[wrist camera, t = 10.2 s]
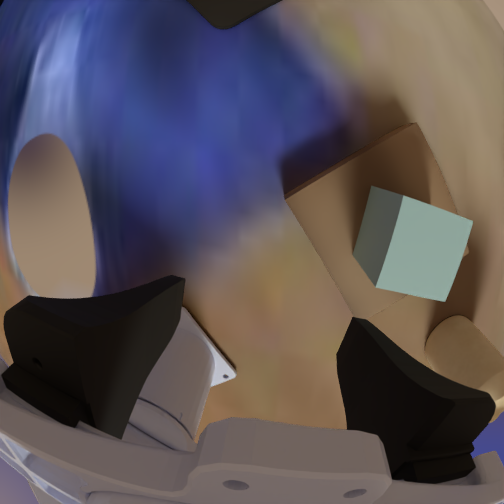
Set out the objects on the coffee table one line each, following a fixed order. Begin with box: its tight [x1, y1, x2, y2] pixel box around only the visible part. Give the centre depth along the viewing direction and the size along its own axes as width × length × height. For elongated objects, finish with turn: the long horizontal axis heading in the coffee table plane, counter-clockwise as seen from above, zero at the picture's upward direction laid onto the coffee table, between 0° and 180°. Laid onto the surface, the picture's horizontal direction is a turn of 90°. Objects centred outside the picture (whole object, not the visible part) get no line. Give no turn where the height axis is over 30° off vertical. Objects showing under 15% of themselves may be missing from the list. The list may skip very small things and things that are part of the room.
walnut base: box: [284, 122, 469, 320], centre depth 18 cm, size 10×10×3 cm
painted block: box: [353, 186, 473, 302], centre depth 15 cm, size 4×4×5 cm
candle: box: [425, 315, 504, 423], centre depth 17 cm, size 6×6×10 cm
